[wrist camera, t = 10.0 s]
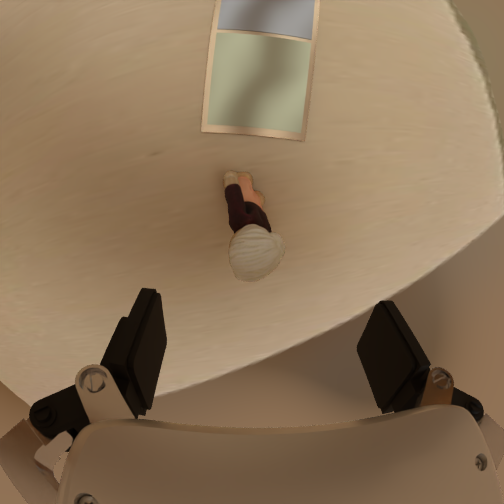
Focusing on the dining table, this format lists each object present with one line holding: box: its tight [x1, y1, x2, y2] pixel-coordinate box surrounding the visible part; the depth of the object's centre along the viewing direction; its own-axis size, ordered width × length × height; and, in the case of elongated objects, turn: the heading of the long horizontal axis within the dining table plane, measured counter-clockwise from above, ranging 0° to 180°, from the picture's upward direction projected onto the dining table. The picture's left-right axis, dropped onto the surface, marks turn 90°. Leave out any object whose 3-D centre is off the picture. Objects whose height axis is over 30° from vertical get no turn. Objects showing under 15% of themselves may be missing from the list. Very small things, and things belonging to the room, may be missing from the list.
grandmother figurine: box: [223, 171, 286, 282], centre depth 20 cm, size 8×4×13 cm, turn 39°
